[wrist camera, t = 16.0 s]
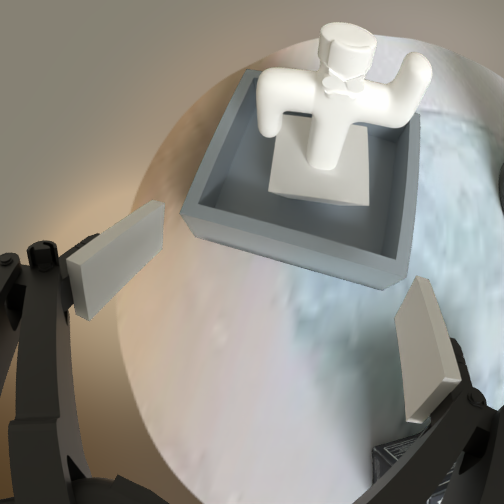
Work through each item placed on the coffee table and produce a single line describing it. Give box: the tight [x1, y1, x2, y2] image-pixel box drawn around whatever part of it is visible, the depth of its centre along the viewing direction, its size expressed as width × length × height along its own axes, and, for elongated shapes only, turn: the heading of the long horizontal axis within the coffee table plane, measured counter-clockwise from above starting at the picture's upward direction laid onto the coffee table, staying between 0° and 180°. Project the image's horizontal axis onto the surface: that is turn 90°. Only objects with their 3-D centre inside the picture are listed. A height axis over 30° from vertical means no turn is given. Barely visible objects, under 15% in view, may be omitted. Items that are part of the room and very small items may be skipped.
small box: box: [372, 434, 457, 504], centre depth 15 cm, size 11×6×10 cm, turn 96°
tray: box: [180, 69, 420, 291], centre depth 25 cm, size 16×15×5 cm
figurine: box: [256, 22, 432, 206], centre depth 19 cm, size 7×9×15 cm
